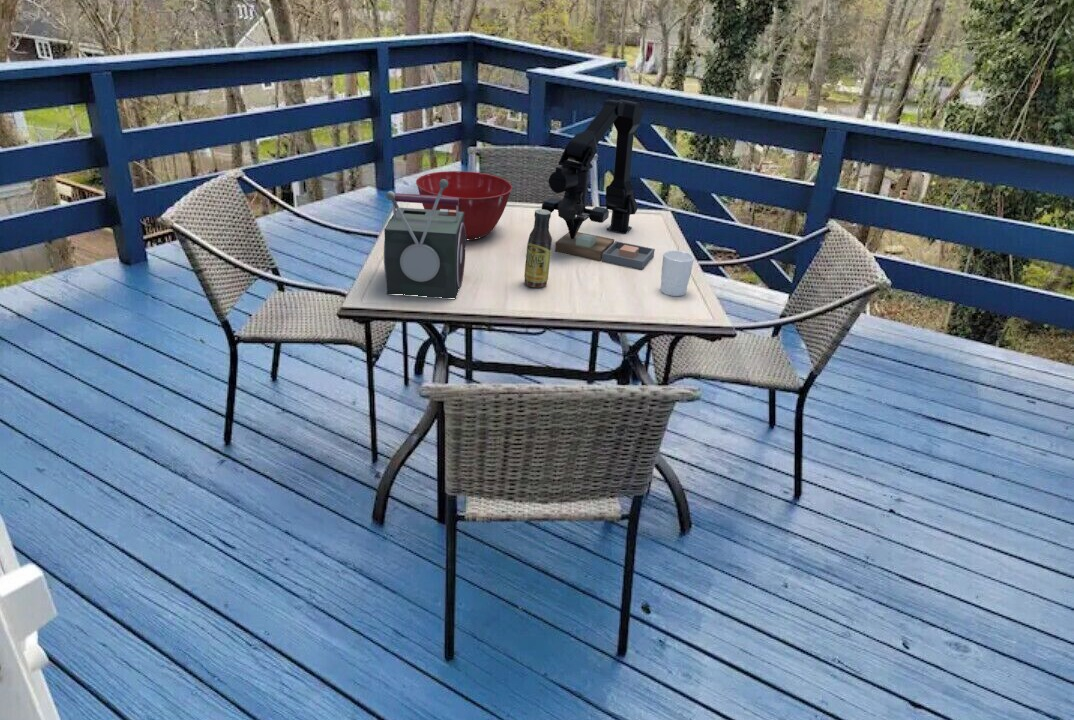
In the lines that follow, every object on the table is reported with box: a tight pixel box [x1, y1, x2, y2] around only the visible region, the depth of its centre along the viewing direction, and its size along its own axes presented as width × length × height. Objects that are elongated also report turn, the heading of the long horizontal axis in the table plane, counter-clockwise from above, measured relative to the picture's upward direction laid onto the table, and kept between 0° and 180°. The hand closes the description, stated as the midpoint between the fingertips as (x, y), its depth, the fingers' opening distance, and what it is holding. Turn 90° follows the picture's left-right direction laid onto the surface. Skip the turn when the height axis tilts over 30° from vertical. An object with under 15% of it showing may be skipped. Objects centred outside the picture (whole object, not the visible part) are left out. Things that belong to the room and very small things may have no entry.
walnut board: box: [554, 231, 615, 262], centre depth 221 cm, size 12×14×3 cm
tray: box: [601, 240, 656, 271], centre depth 217 cm, size 12×12×2 cm
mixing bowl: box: [415, 170, 513, 241], centre depth 225 cm, size 28×28×15 cm
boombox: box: [383, 179, 467, 300], centre depth 186 cm, size 18×21×30 cm
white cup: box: [659, 249, 695, 297], centre depth 196 cm, size 8×8×10 cm
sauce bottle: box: [524, 208, 553, 289], centre depth 192 cm, size 6×6×20 cm
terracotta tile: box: [619, 245, 639, 259], centre depth 218 cm, size 4×4×2 cm
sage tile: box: [576, 233, 597, 247], centre depth 217 cm, size 4×4×2 cm
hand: (572, 238), depth 219 cm, fingers closed
